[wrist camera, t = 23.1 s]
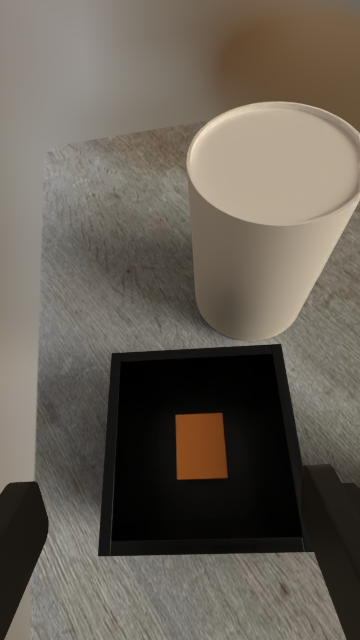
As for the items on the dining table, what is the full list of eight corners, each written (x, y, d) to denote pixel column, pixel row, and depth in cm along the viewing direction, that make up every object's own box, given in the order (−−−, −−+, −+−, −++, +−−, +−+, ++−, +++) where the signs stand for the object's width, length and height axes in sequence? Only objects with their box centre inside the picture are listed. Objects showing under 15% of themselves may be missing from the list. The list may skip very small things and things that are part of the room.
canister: (322, 318, 40) (413, 187, 22) (220, 357, 39) (230, 251, 21) (270, 238, 46) (310, 84, 28) (180, 270, 45) (163, 130, 27)
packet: (183, 480, 33) (176, 479, 26) (182, 428, 35) (175, 414, 28) (223, 479, 33) (227, 478, 26) (219, 426, 35) (222, 412, 28)
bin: (136, 530, 32) (97, 556, 21) (140, 391, 38) (111, 353, 27) (278, 526, 31) (318, 551, 20) (258, 385, 37) (281, 343, 26)
